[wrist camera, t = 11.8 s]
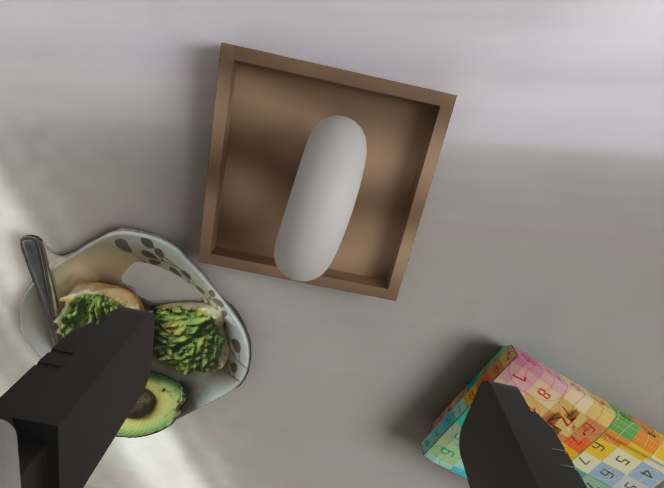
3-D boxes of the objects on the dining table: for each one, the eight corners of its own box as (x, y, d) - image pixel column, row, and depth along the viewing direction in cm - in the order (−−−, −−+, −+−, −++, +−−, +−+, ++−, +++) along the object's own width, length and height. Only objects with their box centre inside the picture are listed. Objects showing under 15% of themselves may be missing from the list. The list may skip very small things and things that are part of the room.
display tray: (231, 44, 29) (221, 42, 26) (447, 93, 29) (456, 95, 27) (207, 248, 34) (197, 261, 31) (392, 285, 35) (395, 300, 32)
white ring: (323, 251, 33) (316, 322, 23) (279, 236, 32) (253, 303, 23) (370, 118, 29) (384, 139, 20) (321, 101, 29) (310, 114, 19)
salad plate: (-34, 275, 36) (-86, 303, 31) (137, 165, 32) (105, 179, 28) (120, 437, 41) (94, 479, 37) (280, 359, 38) (272, 396, 34)
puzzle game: (522, 362, 32) (715, 476, 35) (500, 327, 36) (673, 431, 40) (425, 464, 35) (608, 558, 39) (416, 421, 40) (581, 509, 43)
